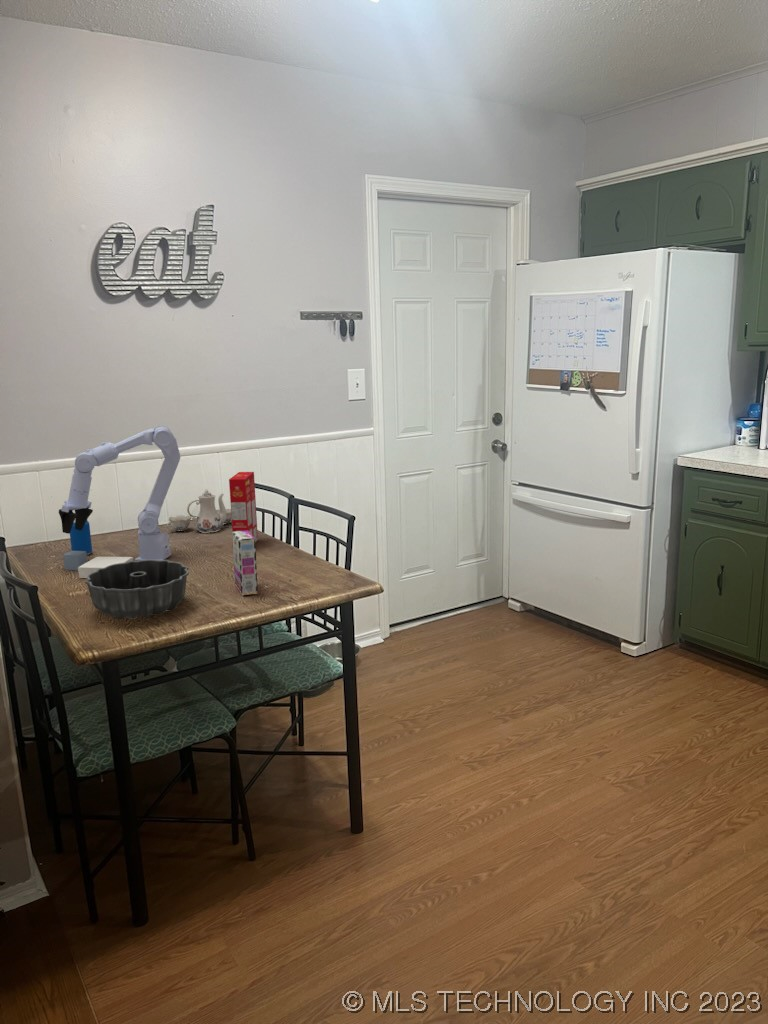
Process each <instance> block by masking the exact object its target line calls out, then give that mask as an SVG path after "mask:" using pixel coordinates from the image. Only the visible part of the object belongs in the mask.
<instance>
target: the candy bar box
mask: <svg viewBox="0 0 768 1024" xmlns="http://www.w3.org/2000/svg"><path fill="white" fill-rule="evenodd" d="M231 534H232V549H233V550H232V551H233V552H232V553H233V569H234V573H233V574H234V585H235V584H236V585H237V587H238V588H239V590H240V591H241V593H246V592H252V591H258V590H259V589H258V571H257V548H256V546H257V545H256V544H257V542H256V543H255V538H254V537H253V536H252V534H251V533H250V532H249V531H248V530H247V531H236V532H232V531H231ZM237 587H236V588H237ZM239 590H238V591H239ZM258 592H259V591H258Z"/></svg>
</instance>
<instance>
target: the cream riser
mask: <svg viewBox="0 0 768 1024" xmlns="http://www.w3.org/2000/svg"><path fill="white" fill-rule="evenodd" d="M129 561H134V557H133V556H95V557H94V558H92V559H90V560H87V563H85V564H83V565H81V566H80V567H78V570H77V571H78V578H87V576H88V575H89V574H91V573H93V572H96V570H97V569H101V568H105V567H107V566H109V565H113V564H118V563H126V562H129Z"/></svg>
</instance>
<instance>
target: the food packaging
mask: <svg viewBox="0 0 768 1024" xmlns="http://www.w3.org/2000/svg"><path fill="white" fill-rule="evenodd" d="M255 484H256V483H255V471H239V472H236V474H234V475H233V476H232V477H230V478H229V479H228V485H229V498H230V499H229V500H230V509H231V517H232V519H231V529H232V531H231V533H232V532H236V531H247V530H248V531H249V532H250V533H251V534H252V536H253V537H254V538H255V540H256V539H257V538H258V539H259V536H258V535H259V534H258V521H257V520H258V519H257V518H258V517H257V504H256V503H257V501H256V500H257V498H256V486H255Z"/></svg>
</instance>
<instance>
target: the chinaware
mask: <svg viewBox="0 0 768 1024" xmlns="http://www.w3.org/2000/svg"><path fill="white" fill-rule="evenodd" d="M223 496H224V493H221V494H219V495H218V499H217V500H218V501H217V502H218V509H217V508H216V505H215V503H216V502H215V500H216V499H215V498H216V495H214V494H212V493H211V492H209V490H208V489H205V490H204V492H203V493H202V494H201V495H198V497H197V498H198V499H195V500H191V501H190V502H189V503H188V504H187V507H186V511H187V514H188V515H187V516H185V515H182V514H181V515H177V516H169V518H168V521H169V522H168V523H167V524H166V529H167V530H168V531H172V530H173V531H174V532H176V531H178V530H180V531H181V530H186V529H188V527H189V526H190V524H191V520H192V522H194V526H195V529H196V530H197V532H198V531H201V532H209V531H216V530H219V529H220V530H221V528H222V527H223V526H224V525H223V523H228V524H229V523H230V521H231V522H232V517H231V508H226V506H225V503H224V500H223ZM193 503H195V504H196V505H197V506H198V505H199V511H198V515H193V514H191V512H190V507H191V505H192V504H193ZM169 524H171V526H172V528H169Z"/></svg>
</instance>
